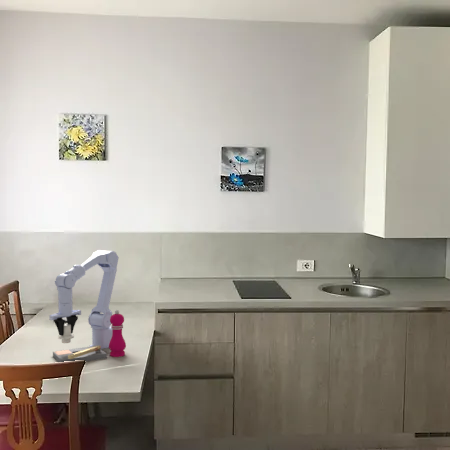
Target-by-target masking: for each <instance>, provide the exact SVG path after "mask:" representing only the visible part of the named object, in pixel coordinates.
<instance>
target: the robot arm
mask: <svg viewBox="0 0 450 450" xmlns="http://www.w3.org/2000/svg"><path fill="white" fill-rule="evenodd" d="M118 262H119V256H118V254H117V252H116V251H114V250H101V249H97V250H96V251H94V252H92V255H90V257H89V258H87V259H86V260H85V261H84V262H82V263H81V264H74V265H72V266H73V267H71V268H70V269H68V270H66V271H65V272H64V273H60V274H58V275H57V276H56V278H55V280H54V284H55V286H56V288H57V289H56V290H57V298H58V299H57V300H58V301H57V302H58V312H55V313H52V314H49V315H48V316H49V320H50V321H53V323H54V324H55V326H56V328H57V332H58V336H59V335H61V336H63V335H64V324H71V334H73V333H74V328H75V325H76V323H77V321H78V320H79V319H78V318H79V316H81V315H82V310H81V309H73V288H74V287H75V284H76V282H77V281H79V280H80V279H81V278H83V277H84V276H85V275H86V272H87V271H88V270H90V269H92V268H93V267H95V266H96V265H97V266H99V267H100V268H101V270H102V271H103V275H102V280H101V284H100V289H99V293H98V298H97V301H96V305H95V306H94V307H93V308H92V309H91V312H90V314H89V316H88V318H87V320H88V321H87V322H88V325H90V328H91V334H92V336H91V343H92V344H90V345H89V346H88V347H90V346H97V345H100V346H101V350H103V349H107V348H108V349H109V343H110V340H111V338H112V333H113V331H112V329H111V325H112V324H111V322H110V317H111V316H112V315H113V312H112V310H111V309H110V308H109V307H110V303H111V299H112V294H113V289H114V285H115V280H116V275H117V271H118V268H117V267H118ZM65 317H66V318H67V321H65V320H63V319H62V318H65ZM66 322H67V323H66Z"/></svg>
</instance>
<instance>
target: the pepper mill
mask: <svg viewBox="0 0 450 450" xmlns="http://www.w3.org/2000/svg"><path fill="white" fill-rule="evenodd" d="M110 322H111V325H110V327H111V329H112V331H113V333H112V338H111V340H110V343H109V348H108V349H109V350H110V352H109V355H110V357H112V358H120V357H124V356H125V354H126V351H125V349H126V347H127V345H126V344H127V343H126V340H125V339H124V336H123V329H124V325H123V323H124V322H125V317H124V315H123V314H121V313H120V311H119V310H118V309H116V310H115V311H114V314H113V313H112V316H111V317H110Z"/></svg>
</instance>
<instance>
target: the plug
mask: <svg viewBox="0 0 450 450" xmlns="http://www.w3.org/2000/svg"><path fill="white" fill-rule="evenodd" d="M74 338H75V335H74V334H73V333H72V334H71V324H68V323H64V335H63V336H61V335H59V334H58V336H57V339H59V340H61V343H62V344H69V343H72V342H71V339H74Z"/></svg>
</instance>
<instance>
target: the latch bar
mask: <svg viewBox="0 0 450 450" xmlns="http://www.w3.org/2000/svg"><path fill="white" fill-rule="evenodd" d="M97 350H102V349H101V346H100V345H97V346H95V347H92V348H89V349H86V350H83V351H80V352H77V353H73V354H70V355H68V359H73V358H76V357H79V356H82V355H85V354H88V353H91V352H94V351H97Z"/></svg>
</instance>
